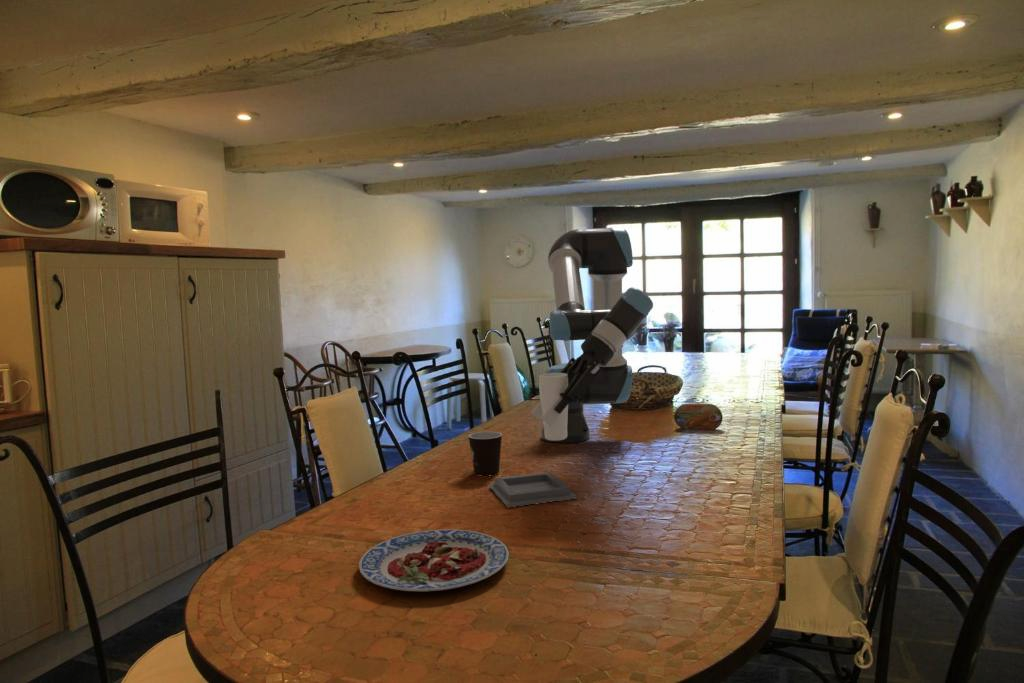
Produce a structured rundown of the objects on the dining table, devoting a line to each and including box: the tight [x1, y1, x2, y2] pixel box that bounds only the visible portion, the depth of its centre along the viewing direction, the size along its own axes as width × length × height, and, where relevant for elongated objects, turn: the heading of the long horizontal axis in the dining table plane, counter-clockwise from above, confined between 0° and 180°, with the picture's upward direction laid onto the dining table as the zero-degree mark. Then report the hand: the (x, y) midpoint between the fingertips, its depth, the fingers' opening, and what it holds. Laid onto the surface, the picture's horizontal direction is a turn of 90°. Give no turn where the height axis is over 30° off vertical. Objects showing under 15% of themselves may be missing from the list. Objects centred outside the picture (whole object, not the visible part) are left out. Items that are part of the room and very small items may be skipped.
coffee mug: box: [468, 431, 503, 477], centre depth 176 cm, size 12×9×10 cm
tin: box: [673, 403, 724, 431], centre depth 217 cm, size 15×3×8 cm, turn 73°
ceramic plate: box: [358, 528, 510, 592], centre depth 117 cm, size 26×26×3 cm
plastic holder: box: [489, 471, 577, 508], centre depth 156 cm, size 16×16×2 cm
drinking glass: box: [538, 372, 568, 441], centre depth 155 cm, size 7×7×15 cm
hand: (540, 419), depth 155 cm, fingers closed on drinking glass, 6 cm apart
